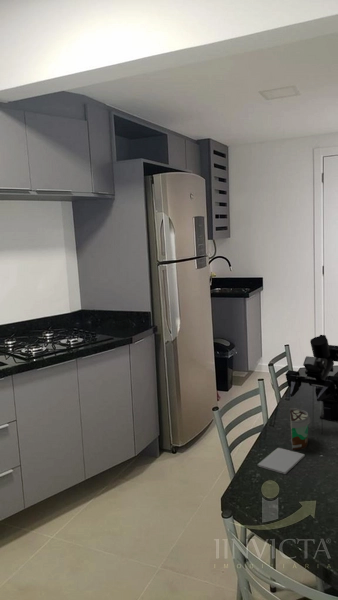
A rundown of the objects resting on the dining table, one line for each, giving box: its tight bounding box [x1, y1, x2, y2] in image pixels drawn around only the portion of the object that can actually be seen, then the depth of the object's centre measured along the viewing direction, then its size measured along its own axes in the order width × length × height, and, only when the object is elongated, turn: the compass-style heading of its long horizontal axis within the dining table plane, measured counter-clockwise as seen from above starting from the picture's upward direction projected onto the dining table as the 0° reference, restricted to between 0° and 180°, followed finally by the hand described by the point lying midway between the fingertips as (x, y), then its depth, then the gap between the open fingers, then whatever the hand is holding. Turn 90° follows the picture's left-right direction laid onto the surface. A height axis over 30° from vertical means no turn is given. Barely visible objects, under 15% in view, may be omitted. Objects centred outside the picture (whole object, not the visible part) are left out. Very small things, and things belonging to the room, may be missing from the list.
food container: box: [289, 407, 311, 451], centre depth 153 cm, size 12×6×10 cm, turn 168°
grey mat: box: [257, 447, 305, 475], centre depth 143 cm, size 13×9×1 cm
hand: (304, 397), depth 154 cm, fingers open, 9 cm apart
